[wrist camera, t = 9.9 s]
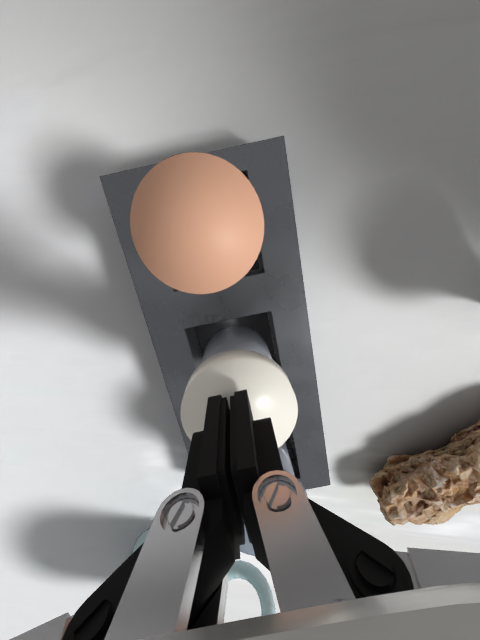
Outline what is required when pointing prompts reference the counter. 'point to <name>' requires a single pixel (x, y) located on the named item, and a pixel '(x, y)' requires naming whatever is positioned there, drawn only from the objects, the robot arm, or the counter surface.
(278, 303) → the key panel
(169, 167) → the terracotta key
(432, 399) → the counter surface
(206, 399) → the cream key
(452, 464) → the rock
